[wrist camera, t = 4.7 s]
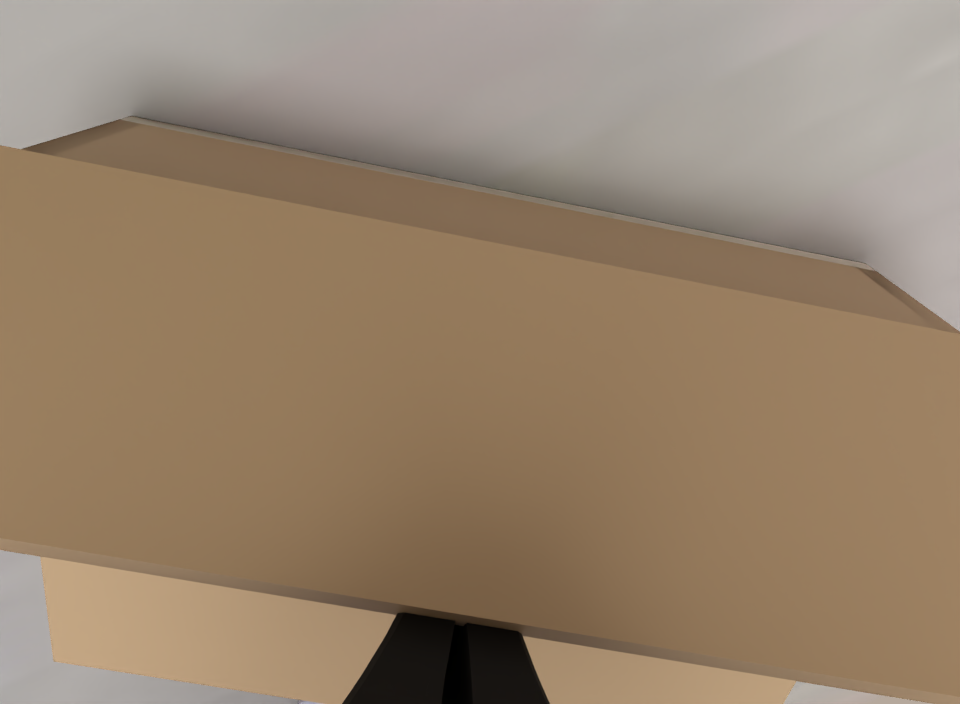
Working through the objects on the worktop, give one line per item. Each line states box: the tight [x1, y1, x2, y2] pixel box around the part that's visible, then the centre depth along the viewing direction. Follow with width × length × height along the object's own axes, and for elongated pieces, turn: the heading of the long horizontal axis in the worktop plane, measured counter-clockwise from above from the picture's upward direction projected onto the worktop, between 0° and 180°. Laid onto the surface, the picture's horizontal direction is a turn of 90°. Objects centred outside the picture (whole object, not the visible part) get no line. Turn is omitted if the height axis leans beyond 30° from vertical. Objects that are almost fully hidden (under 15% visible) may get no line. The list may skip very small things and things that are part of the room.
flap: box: [0, 145, 960, 704], centre depth 12 cm, size 7×20×1 cm
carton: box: [21, 116, 960, 704], centre depth 19 cm, size 14×20×6 cm
